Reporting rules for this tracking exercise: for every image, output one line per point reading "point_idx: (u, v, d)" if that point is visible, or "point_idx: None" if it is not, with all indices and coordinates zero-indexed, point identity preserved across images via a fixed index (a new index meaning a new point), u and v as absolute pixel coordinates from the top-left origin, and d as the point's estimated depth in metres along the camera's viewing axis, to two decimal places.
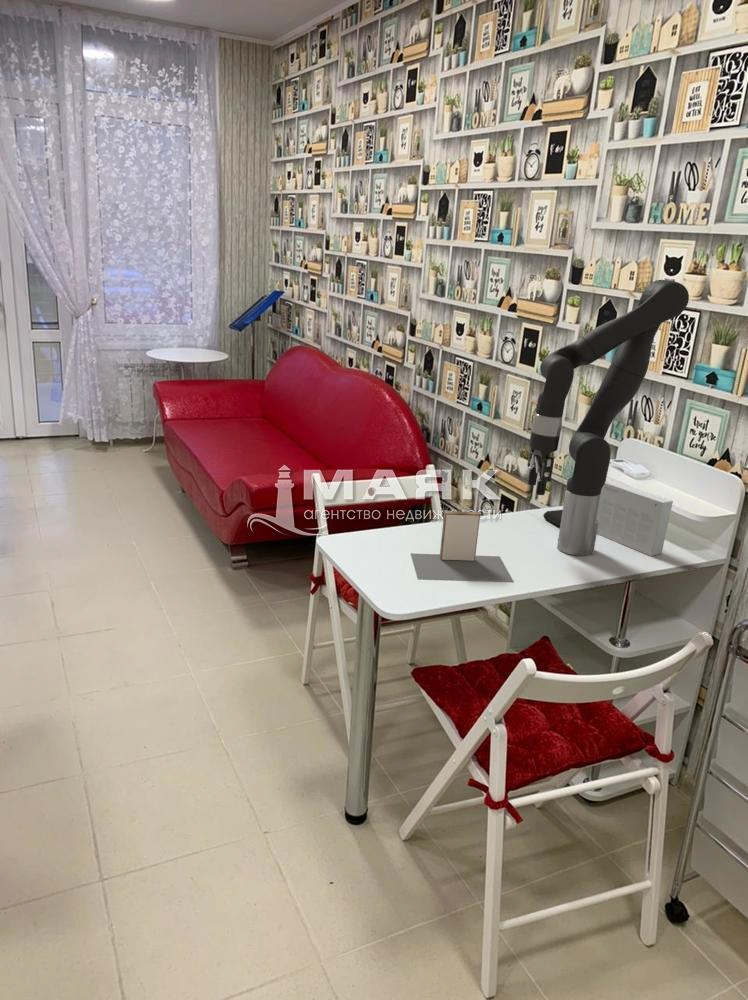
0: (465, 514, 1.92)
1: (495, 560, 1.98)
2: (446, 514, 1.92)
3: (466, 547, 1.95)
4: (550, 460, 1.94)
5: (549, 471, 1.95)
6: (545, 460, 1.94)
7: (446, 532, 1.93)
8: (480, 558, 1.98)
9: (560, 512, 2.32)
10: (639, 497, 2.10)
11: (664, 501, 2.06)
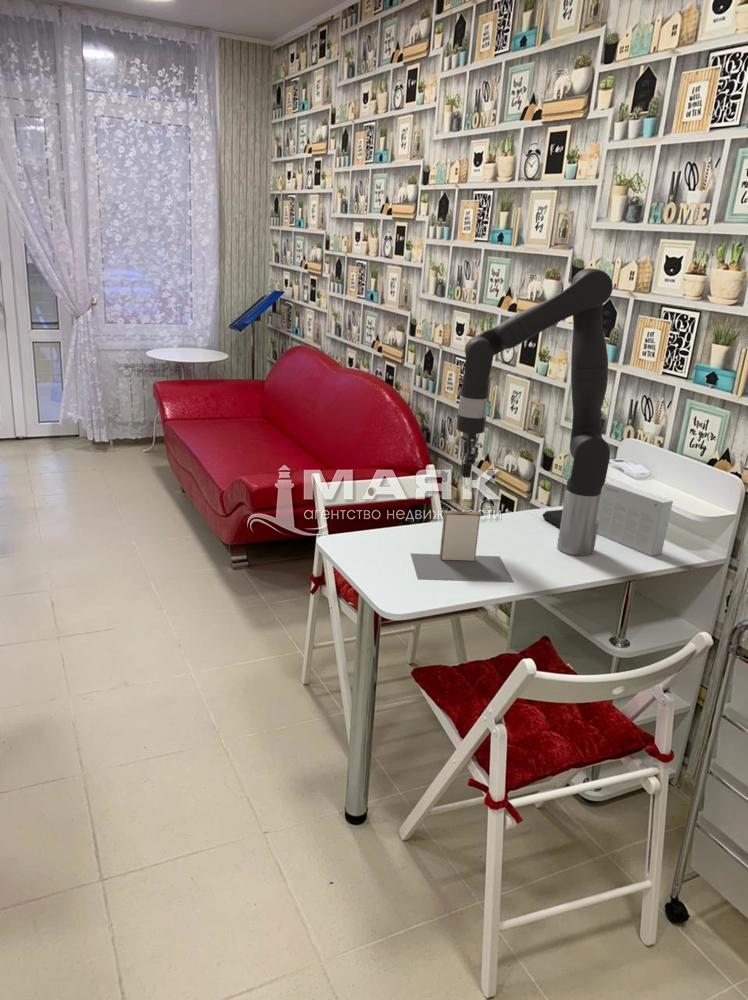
0: (465, 514, 1.92)
1: (495, 560, 1.98)
2: (446, 514, 1.92)
3: (466, 547, 1.95)
4: (474, 449, 1.97)
5: (473, 457, 1.99)
6: (469, 449, 1.96)
7: (446, 532, 1.93)
8: (480, 558, 1.98)
9: (559, 512, 2.32)
10: (639, 497, 2.10)
11: (664, 501, 2.06)
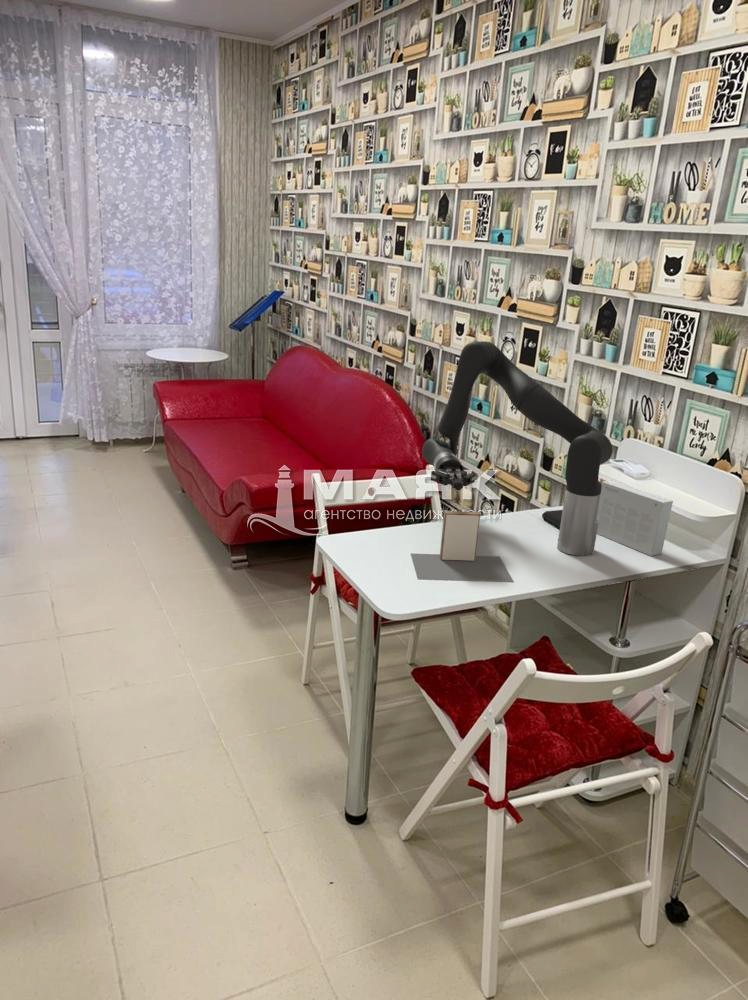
0: (465, 514, 1.92)
1: (495, 560, 1.98)
2: (446, 514, 1.92)
3: (466, 547, 1.95)
4: (431, 474, 2.06)
5: (438, 476, 2.04)
6: (431, 479, 2.07)
7: (446, 532, 1.93)
8: (480, 558, 1.98)
9: (559, 512, 2.32)
10: (639, 497, 2.10)
11: (664, 501, 2.06)
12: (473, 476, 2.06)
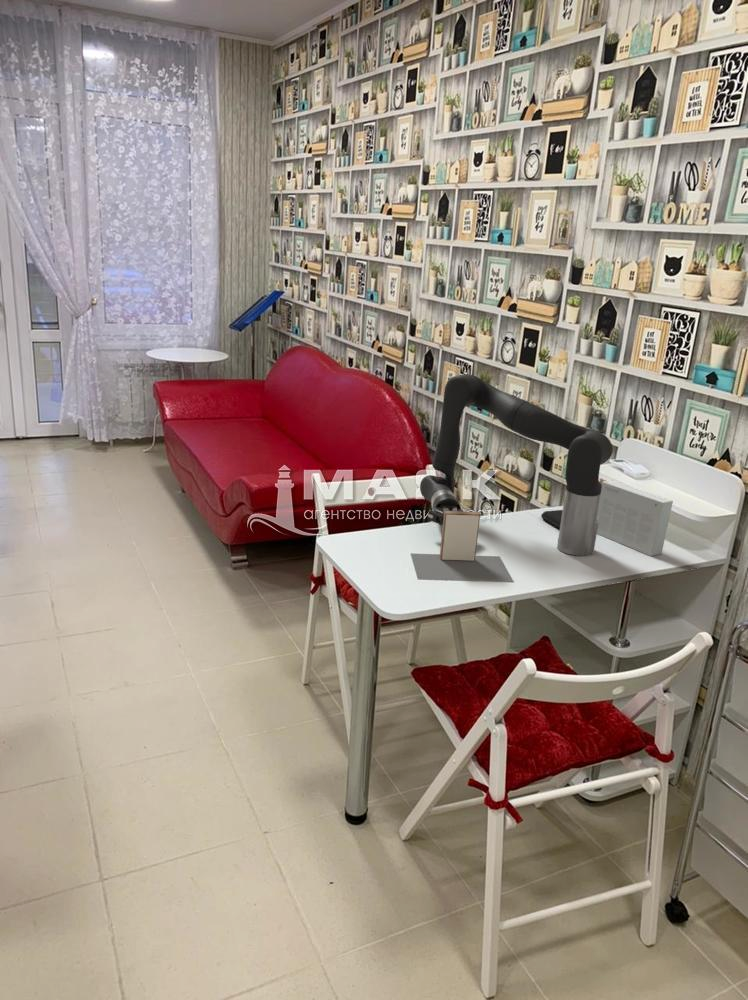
0: (465, 514, 1.92)
1: (495, 560, 1.98)
2: (446, 514, 1.92)
3: (466, 547, 1.95)
4: (428, 513, 2.09)
5: (435, 516, 2.07)
6: (428, 518, 2.09)
7: (446, 532, 1.93)
8: (480, 558, 1.98)
9: (558, 512, 2.31)
10: (639, 497, 2.10)
11: (664, 501, 2.06)
12: None
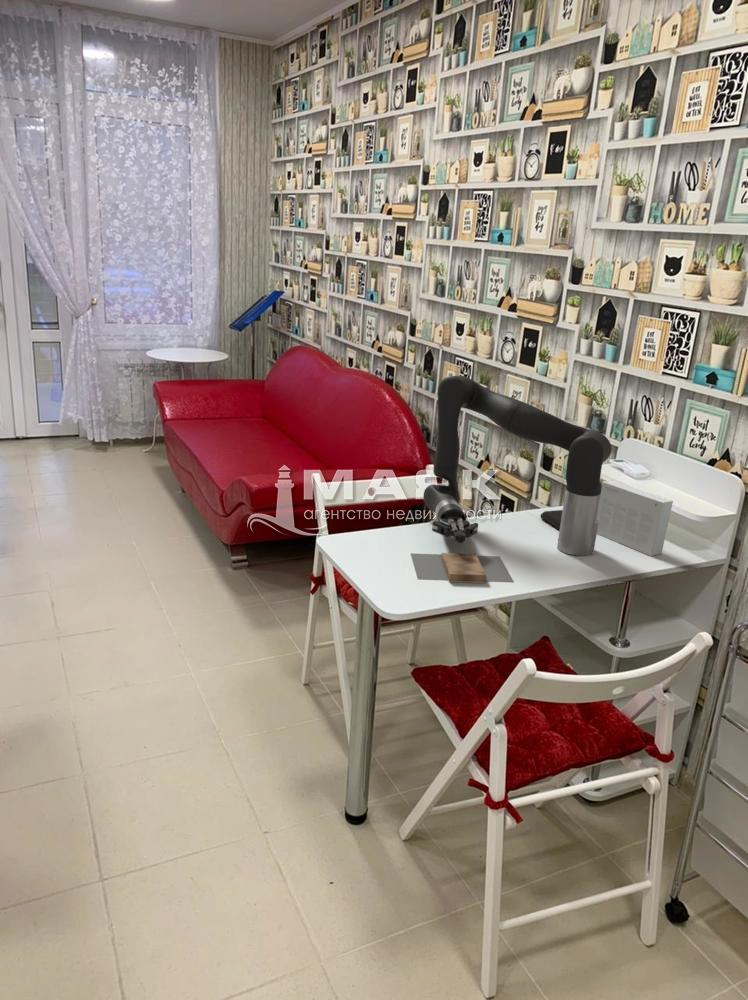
0: (469, 581, 1.84)
1: (495, 560, 1.98)
2: (450, 580, 1.83)
3: None
4: None
5: (440, 527, 1.99)
6: (432, 529, 2.01)
7: None
8: (480, 558, 1.98)
9: (557, 512, 2.31)
10: (639, 497, 2.10)
11: (664, 501, 2.06)
12: (476, 527, 2.00)
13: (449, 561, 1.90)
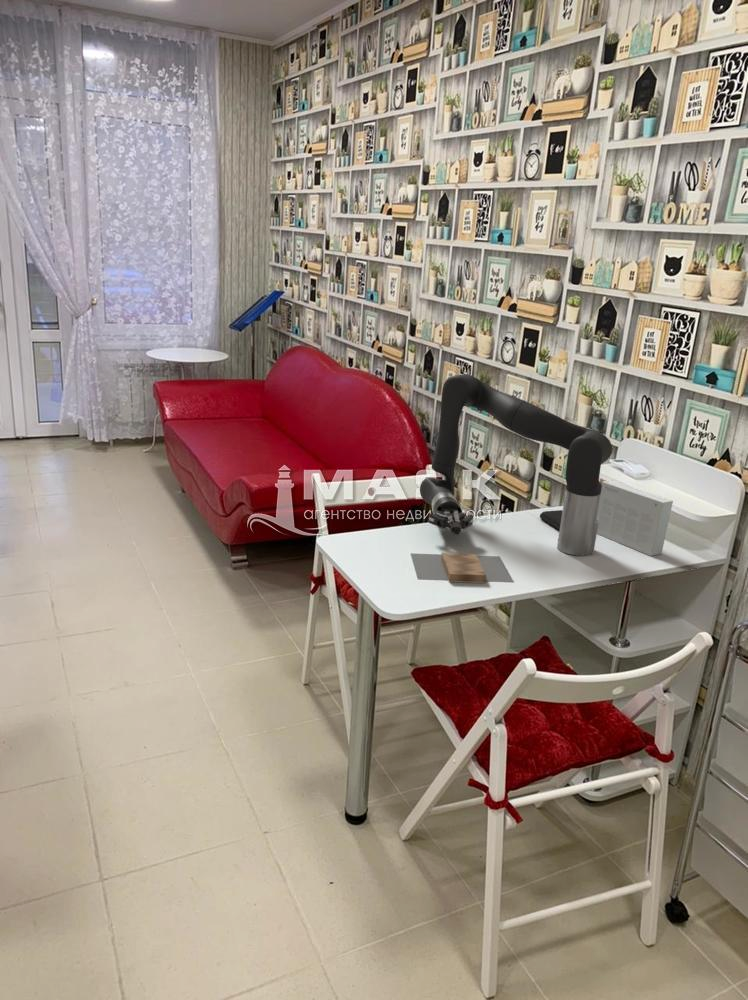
0: (469, 581, 1.84)
1: (495, 560, 1.98)
2: (450, 580, 1.83)
3: None
4: (429, 517, 2.07)
5: (436, 519, 2.04)
6: (429, 521, 2.07)
7: None
8: (480, 558, 1.98)
9: (556, 513, 2.31)
10: (639, 497, 2.10)
11: (664, 501, 2.06)
12: (471, 519, 2.06)
13: (449, 561, 1.90)
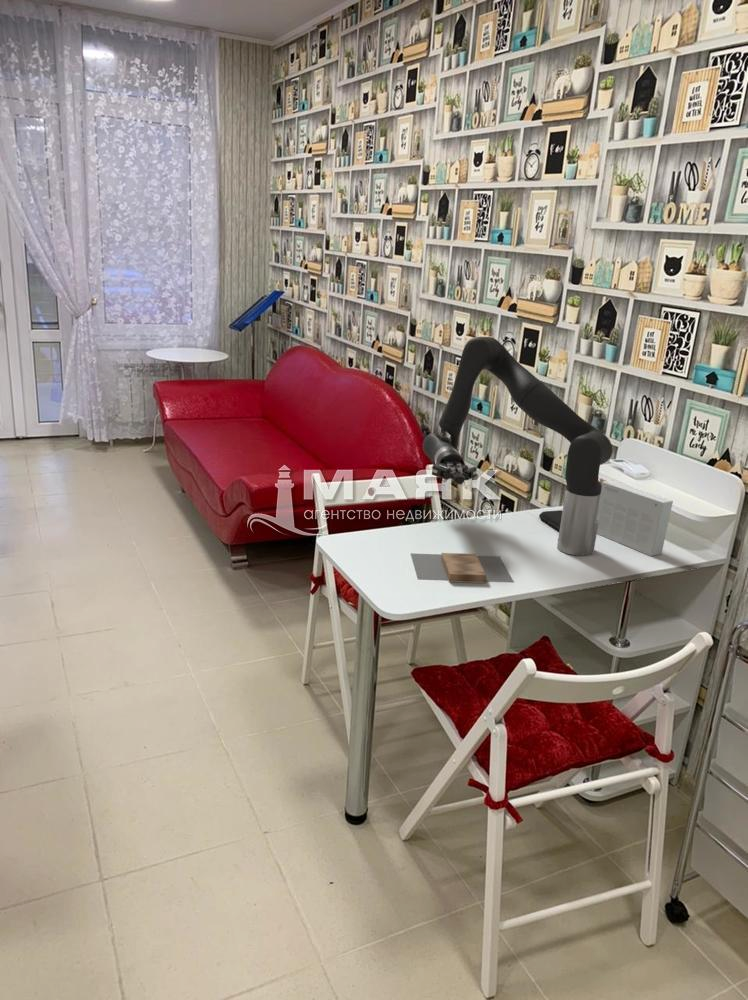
0: (469, 581, 1.84)
1: (495, 560, 1.98)
2: (450, 580, 1.83)
3: None
4: (432, 468, 2.06)
5: (439, 471, 2.04)
6: (432, 473, 2.06)
7: None
8: (480, 558, 1.98)
9: (556, 513, 2.31)
10: (639, 497, 2.10)
11: (664, 501, 2.06)
12: (474, 470, 2.06)
13: (449, 561, 1.90)
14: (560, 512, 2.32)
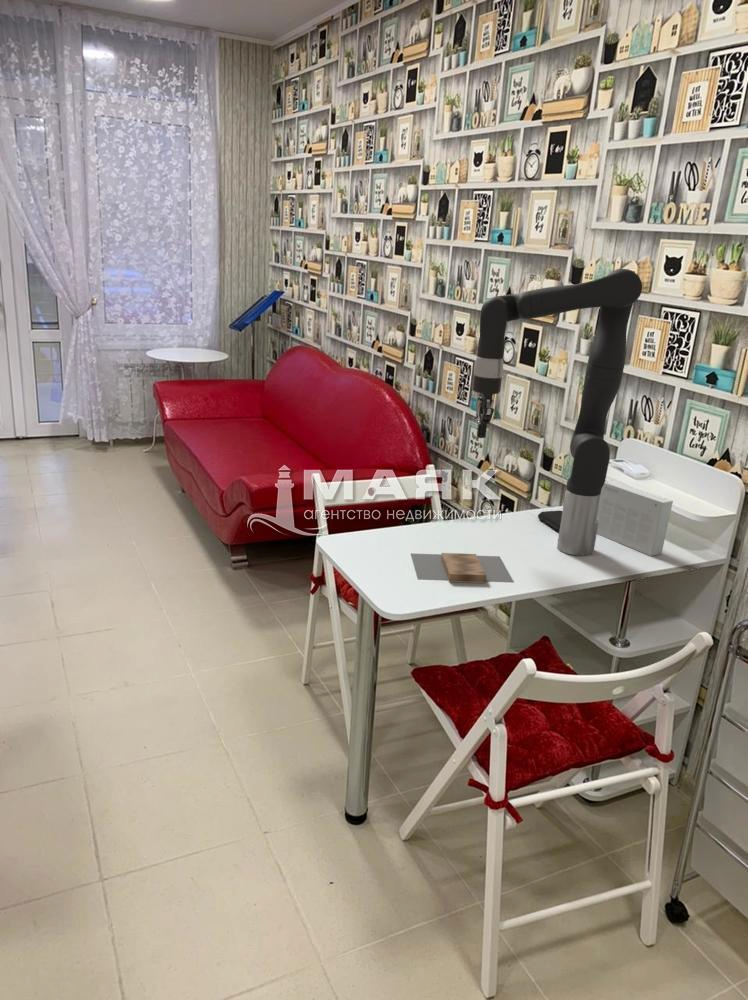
0: (469, 581, 1.84)
1: (495, 560, 1.98)
2: (450, 580, 1.83)
3: None
4: (490, 410, 1.98)
5: (488, 418, 2.00)
6: (485, 410, 1.98)
7: None
8: (480, 558, 1.98)
9: (555, 513, 2.31)
10: (639, 497, 2.10)
11: (664, 501, 2.06)
12: None
13: (449, 561, 1.90)
14: (559, 512, 2.32)
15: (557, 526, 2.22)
